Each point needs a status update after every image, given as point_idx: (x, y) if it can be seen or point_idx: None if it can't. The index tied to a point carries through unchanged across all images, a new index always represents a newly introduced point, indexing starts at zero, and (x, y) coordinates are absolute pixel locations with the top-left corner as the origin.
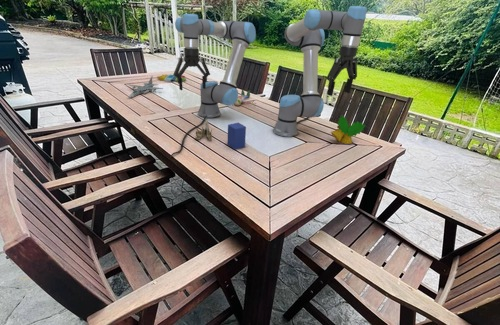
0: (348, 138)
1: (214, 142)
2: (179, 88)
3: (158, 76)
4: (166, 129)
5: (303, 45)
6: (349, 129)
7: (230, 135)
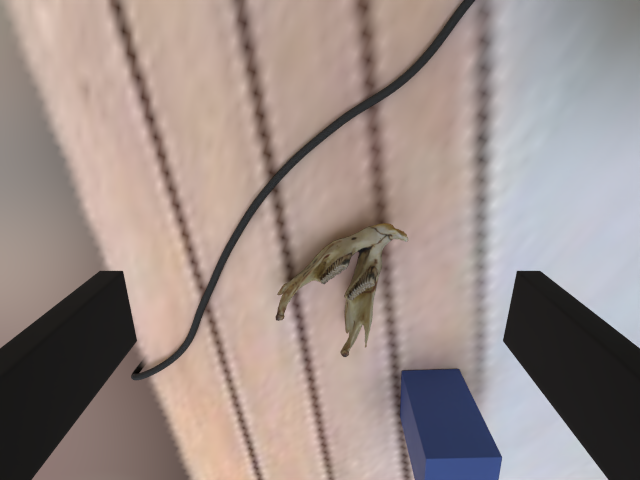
0: None
1: None
2: (93, 277)
3: None
4: (167, 50)
5: None
6: None
7: (412, 433)
